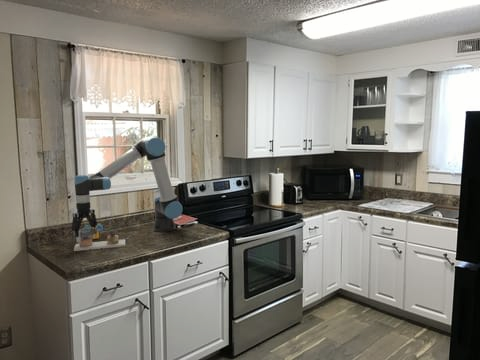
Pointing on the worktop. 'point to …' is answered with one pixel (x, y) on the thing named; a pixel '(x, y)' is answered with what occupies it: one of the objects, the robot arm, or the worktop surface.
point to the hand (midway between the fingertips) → (85, 240)
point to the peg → (85, 241)
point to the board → (100, 245)
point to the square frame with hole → (86, 232)
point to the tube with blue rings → (97, 230)
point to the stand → (112, 238)
